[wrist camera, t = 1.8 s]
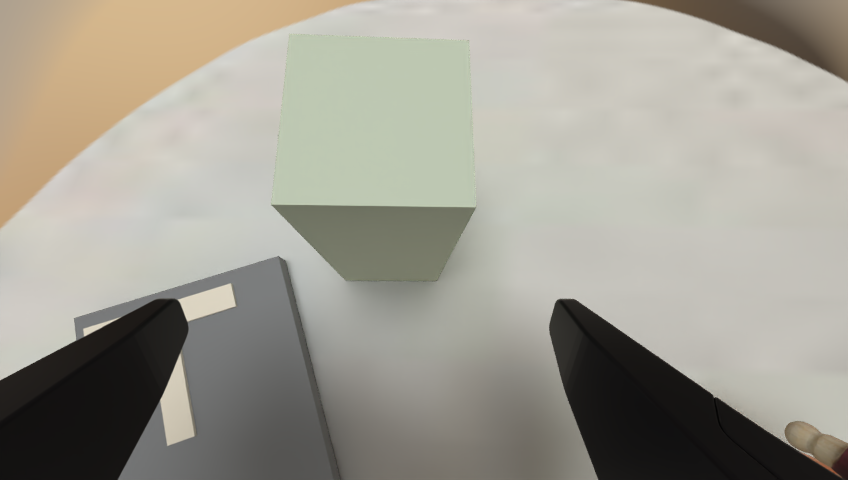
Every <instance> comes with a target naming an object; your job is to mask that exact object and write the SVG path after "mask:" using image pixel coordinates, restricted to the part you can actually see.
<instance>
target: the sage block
mask: <svg viewBox="0 0 848 480" xmlns="http://www.w3.org/2000/svg"><path fill="white" fill-rule="evenodd" d="M271 205H272V206H273V207H274V208H275V209H276V210H277V211H278V212H279V213H280V214H281V215H282V216H283V217H284V218H285V219H286V220H287V221H288V222H289V223H290V224H291V225H292V226H293V227H294V228H295V229H296V230H297V232H298V233H299V234H300V235H301V236H302V237H303V238H304V239H305V240H306V241H307V242H308V243H309V244H310V245H311V246H312V247H313V248H314V249H315V250H316V251H317V252H318V253H319V254H320V255H321V256H322V257H323V258H324V259H325V260H326V261H327V262H328V263H329V264H330V265H331V266H332V267H333V268H334V269H335V270H336V271H337V272H338V273H339V274H340V275H341V276H342V277H343V278H344V279H345V280H346V281H437V279H438V277H439V275H440V273H441V272H442V270H443V268H444V266H445V264H446V262H447V260H448V259H449V257H450V255H451V253H452V251H453V249H454V247H455V246H456V244H457V242H458V240H459V238H460V236H461V234H462V233H463V231H464V229H465V227H466V225H467V223H468V222H469V220H470V218H471V216H472V214H473V212H474V210H475V209H476V192H475V168H474V144H473V121H472V97H471V74H470V50H469V40H445V39H417V38H389V37H361V36H333V35H305V34H289V41H288V51H287V60H286V69H285V79H284V88H283V97H282V107H281V116H280V125H279V135H278V144H277V154H276V163H275V172H274V182H273V191H272V200H271Z"/></svg>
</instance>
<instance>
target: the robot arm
mask: <svg viewBox="0 0 848 480" xmlns="http://www.w3.org/2000/svg"><path fill="white" fill-rule="evenodd" d="M188 331H189V326H188V322H187V319H186V317H185V314H184V311H183V309H182V306H181V304H180V302H179V301H178V300H177V299H175V298H158V299H155V300H153V301H151V302H149V303H147V304H145V305H143V306H142V307H140V308H138V309H136V310H134V311H132V312H130V313H128V314H126V315H124V316H122V317H121V318H119V319H117V320H115V321H113V322H111V323H109V324H107V325H105V326H103V327H101V328H99V329H98V330H96V331H94V332H92V333H90V334H88V335H86V336H84V337H82V338H80V339H78V340H77V341H75V342H73V343H71V344H69V345H67V346H65V347H63V348H61V349H59V350H57V351H56V352H54V353H52V354H50V355H48V356H46V357H44V358H42V359H40V360H38V361H36V362H35V363H33V364H31V365H29V366H27V367H25V368H23V369H21V370H19V371H17V372H15V373H13V374H12V375H10V376H8V377H6V378H4V379H2V380H0V480H118V479H119V477H120V475H121V473H122V471H123V469H124V467H125V466H126V464H127V462H128V460H129V458H130V456H131V454H132V452H133V451H134V449H135V447H136V445H137V443H138V441H139V439H140V437H141V436H142V434H143V432H144V430H145V428H146V426H147V424H148V422H149V421H150V419H151V417H152V415H153V413H154V411H155V409H156V407H157V406H158V404H159V402H160V400H161V398H162V396H163V394H164V391H165V389H166V387H167V385H168V382H169V380H170V377H171V375H172V372H173V370H174V367H175V365H176V362H177V360H178V358H179V355H180V353H181V350H182V348H183V345H184V343H185V340H186V338H187V335H188ZM549 331H550V336H551V340H552V344H553V348H554V352H555V356H556V360H557V363H558V367H559V371H560V375H561V379H562V383H563V386H564V390H565V393H566V395H567V398H568V401H569V404H570V406H571V409H572V412H573V414H574V417H575V420H576V422H577V425H578V427H579V430H580V433H581V435H582V438H583V441H584V443H585V446H586V448H587V451H588V454H589V456H590V459H591V462H592V464H593V467H594V470H595V472H596V475H597V477H598V480H844V479H843V478H841V477H839V476H838V475H836V474H835V473H833V472H831V471H830V470H828V469H826V468H825V467H823V466H822V465H820V464H818V463H817V462H815V461H813V460H812V459H810V458H809V457H807V456H805V455H804V454H802V453H801V452H799V451H797V450H796V449H794V448H793V447H791V446H789V445H788V444H786V443H785V442H783V441H782V440H780V439H778V438H777V437H775V436H774V435H772V434H770V433H769V432H767V431H766V430H764V429H763V428H761V427H760V426H758V425H757V424H755V423H754V422H752V421H751V420H749V419H748V418H746V417H745V416H743V415H742V414H740V413H739V412H737V411H736V410H734V409H733V408H732V407H730V406H729V405H727V404H726V403H724V402H723V401H721V400H720V399H719V398H717V397H715V398H714V397H713V395H712V394H711V393H710V392H708V391H707V390H705V389H704V388H702V387H701V386H700V385H698V384H697V383H695V382H694V381H692V380H691V379H689V378H688V377H687V376H685V375H684V374H682V373H681V372H679V371H678V370H676V369H675V368H674V367H672V366H671V365H669V364H668V363H666V362H665V361H663V360H662V359H661V358H659V357H658V356H656V355H655V354H653V353H652V352H650V351H649V350H648V349H646V348H645V347H643V346H642V345H640V344H639V343H637V342H636V341H635V340H633V339H632V338H630V337H629V336H627V335H626V334H624V333H623V332H622V331H620V330H619V329H617V328H616V327H614V326H613V325H611V324H610V323H608V322H607V321H606V320H604V319H603V318H601V317H600V316H598V315H597V314H595V313H594V312H593V311H591V310H590V309H588V308H587V307H585V306H584V305H582V304H581V303H580V302H578V301H577V300H575V299H558V300H557V301H556V303H555V306H554V309H553V313H552V317H551V321H550V325H549Z"/></svg>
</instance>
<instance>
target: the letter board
mask: <svg viewBox="0 0 848 480" xmlns="http://www.w3.org/2000/svg"><path fill="white" fill-rule="evenodd" d="M158 298H175V299H177V300H178V301H179V302H180V304H181V306H182V309H183V311H184V314H185V317H186V319H187V322H188V326H189V331H188V335H187V338H186V340H185V343H184V345H183V348H182V350H181V353H180V355H179V358H178V360H177V362H176V365H175V367H174V370H173V372H172V375H171V377H170V380H169V382H168V385H167V387H166V389H165V391H164V394H163V396H162V398H161V400H160V402H159V404H158V406H157V407H156V409H155V411H154V413H153V415H152V417H151V419H150V421H149V422H148V424H147V426H146V428H145V430H144V432H143V434H142V436H141V437H140V439H139V441H138V443H137V445H136V447H135V449H134V451H133V452H132V454H131V456H130V458H129V460H128V462H127V464H126V466H125V467H124V469H123V471H122V473H121V475H120V477H119V479H118V480H340V476H339V472H338V468H337V464H336V460H335V456H334V452H333V448H332V444H331V440H330V436H329V432H328V428H327V424H326V420H325V416H324V412H323V408H322V404H321V400H320V396H319V392H318V388H317V384H316V380H315V376H314V372H313V368H312V365H311V361H310V357H309V353H308V349H307V345H306V341H305V337H304V333H303V329H302V325H301V321H300V317H299V313H298V309H297V305H296V301H295V297H294V293H293V289H292V285H291V281H290V277H289V273H288V269H287V265H286V261H285V260H283V259H282V258H280V257H279V256H277V257H274V258H271V259H267V260H264V261H261V262H258V263H254V264H251V265H248V266H244V267H241V268H238V269H235V270H231V271H228V272H225V273H221V274H218V275H215V276H211V277H208V278H205V279H202V280H198V281H195V282H192V283H188V284H185V285H182V286H179V287H175V288H172V289H169V290H165V291H162V292H159V293H155V294H152V295H149V296H146V297H142V298H139V299H136V300H132V301H129V302H126V303H123V304H119V305H116V306H113V307H109V308H106V309H103V310H100V311H96V312H93V313H90V314H86V315H83V316H80V317H76V318H74V322H75V331H76V340H78V339H80V338H82V337H84V336H86V335H88V334H90V333H92V332H94V331H96V330H98V329H99V328H101V327H103V326H105V325H107V324H109V323H111V322H113V321H115V320H117V319H119V318H121V317H122V316H124V315H126V314H128V313H130V312H132V311H134V310H136V309H138V308H140V307H142V306H143V305H145V304H147V303H149V302H151V301H153V300H155V299H158Z"/></svg>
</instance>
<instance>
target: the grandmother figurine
mask: <svg viewBox="0 0 848 480" xmlns="http://www.w3.org/2000/svg"><path fill="white" fill-rule="evenodd" d="M785 436H786V439H787V440H788V442H789V443H790V444H791V445H792V446H794V447H795V448H797V449H799V450H801V451H803V452H807V453H811V454H812V455H813V456H814V457H815V458H814V457H811V456H809V455H806V454H804V453H802V454H804V455H805V456H807V457H809V458H810V459H812V460H813V461H815V462H817V463H818V464H820V465H822V466H823V467H825V468H826V469H828V470H830V471H831V472H833V473H835V474H836V475H838V476H839V477H841V478H843V479H844V480H848V443H846V442H844V441H842V440H839V439H837V438H835V437H833V436H831V435H826V434H822V433H820V432H819V431H818V430H817V429H816V428H815V427H813V426H812V425H810V424H808V423H805V422H801V421H795V422H791V423H789V424H788V425H787V426H786V428H785Z"/></svg>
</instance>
